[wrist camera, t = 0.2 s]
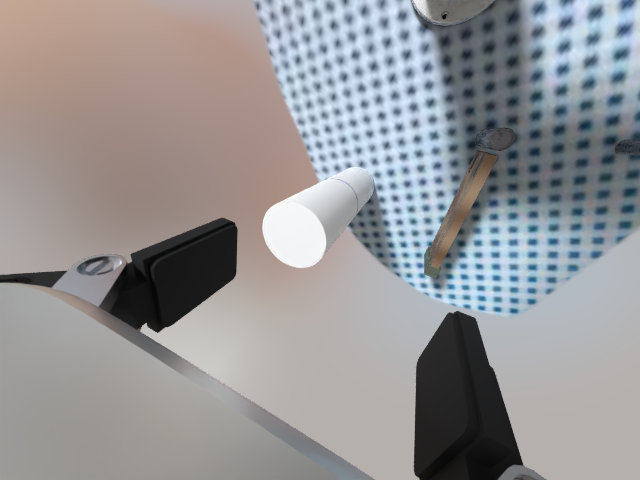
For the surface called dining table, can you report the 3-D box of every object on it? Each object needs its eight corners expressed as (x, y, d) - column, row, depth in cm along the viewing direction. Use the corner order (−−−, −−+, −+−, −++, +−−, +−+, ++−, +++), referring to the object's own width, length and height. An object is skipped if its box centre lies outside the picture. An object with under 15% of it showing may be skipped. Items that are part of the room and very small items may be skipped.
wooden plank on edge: (474, 149, 34) (484, 153, 28) (487, 152, 33) (501, 157, 27) (424, 254, 43) (424, 274, 37) (434, 258, 42) (435, 278, 37)
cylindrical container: (382, 183, 42) (340, 235, 21) (358, 211, 46) (302, 279, 25) (352, 158, 42) (281, 185, 21) (330, 188, 46) (252, 237, 25)
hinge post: (481, 127, 33) (496, 125, 26) (499, 130, 33) (520, 130, 26) (472, 144, 34) (485, 148, 27) (490, 148, 34) (508, 152, 27)
